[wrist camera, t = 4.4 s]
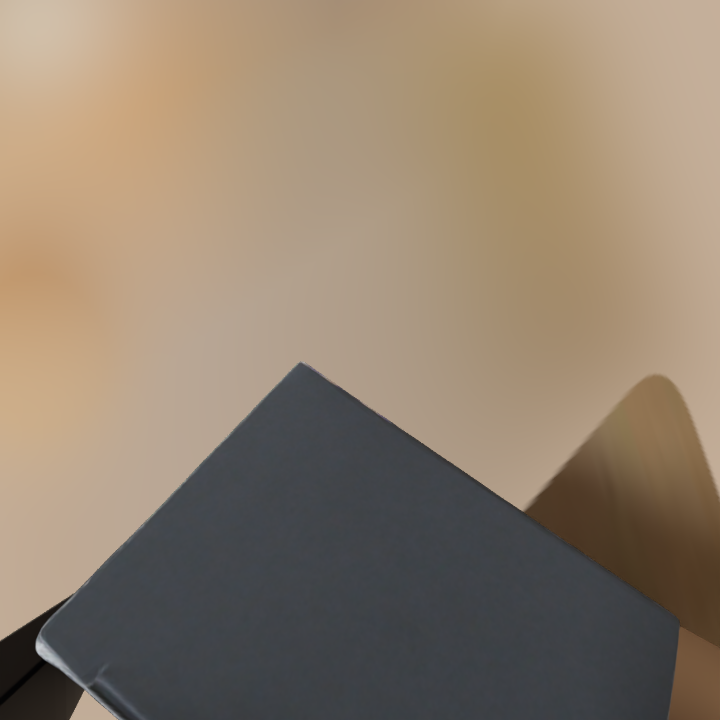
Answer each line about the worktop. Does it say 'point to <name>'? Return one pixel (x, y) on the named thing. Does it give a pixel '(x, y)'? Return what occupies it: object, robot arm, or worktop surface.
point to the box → (354, 591)
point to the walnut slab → (696, 679)
